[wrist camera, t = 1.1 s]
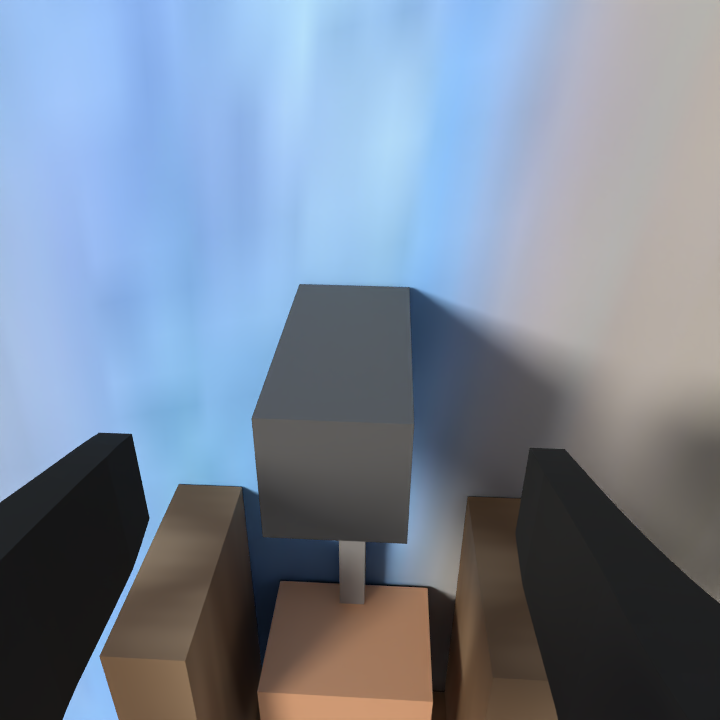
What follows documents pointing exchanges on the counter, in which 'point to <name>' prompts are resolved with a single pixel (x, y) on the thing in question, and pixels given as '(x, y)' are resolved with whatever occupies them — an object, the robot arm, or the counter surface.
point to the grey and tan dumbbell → (342, 508)
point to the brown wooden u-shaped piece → (240, 634)
